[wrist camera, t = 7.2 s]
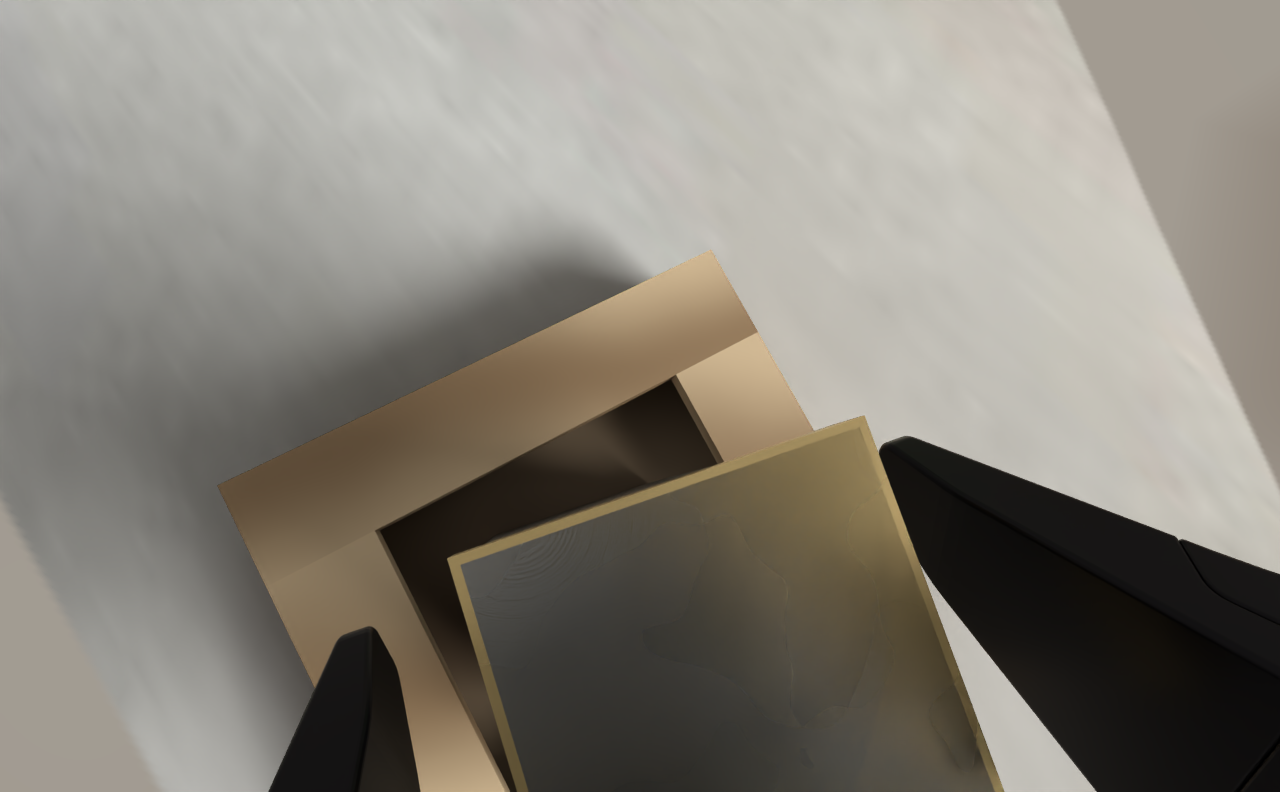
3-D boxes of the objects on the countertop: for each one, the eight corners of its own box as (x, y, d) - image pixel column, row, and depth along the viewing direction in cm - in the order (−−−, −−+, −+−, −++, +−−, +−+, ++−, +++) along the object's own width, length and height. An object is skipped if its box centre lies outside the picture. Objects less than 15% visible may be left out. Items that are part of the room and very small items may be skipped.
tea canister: (704, 638, 20) (1022, 839, 8) (543, 702, 19) (596, 1058, 7) (650, 478, 21) (864, 414, 8) (490, 532, 20) (447, 558, 7)
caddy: (886, 670, 22) (967, 700, 18) (493, 939, 19) (486, 1045, 15) (678, 298, 23) (711, 249, 19) (276, 494, 20) (217, 485, 16)
